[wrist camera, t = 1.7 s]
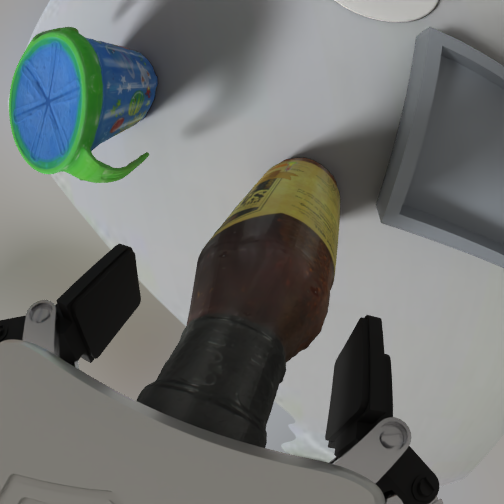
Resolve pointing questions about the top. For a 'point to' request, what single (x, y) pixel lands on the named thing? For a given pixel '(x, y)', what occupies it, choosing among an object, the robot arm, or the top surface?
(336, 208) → the sauce bottle
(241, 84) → the top surface
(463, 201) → the tray
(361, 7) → the teacup
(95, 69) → the snack cup
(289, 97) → the top surface
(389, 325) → the top surface
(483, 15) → the top surface
